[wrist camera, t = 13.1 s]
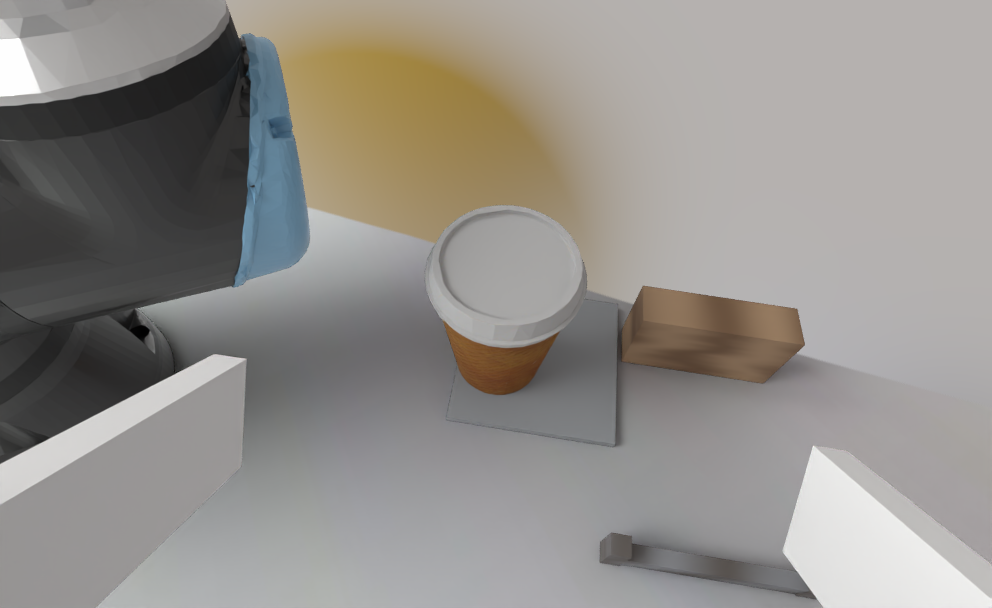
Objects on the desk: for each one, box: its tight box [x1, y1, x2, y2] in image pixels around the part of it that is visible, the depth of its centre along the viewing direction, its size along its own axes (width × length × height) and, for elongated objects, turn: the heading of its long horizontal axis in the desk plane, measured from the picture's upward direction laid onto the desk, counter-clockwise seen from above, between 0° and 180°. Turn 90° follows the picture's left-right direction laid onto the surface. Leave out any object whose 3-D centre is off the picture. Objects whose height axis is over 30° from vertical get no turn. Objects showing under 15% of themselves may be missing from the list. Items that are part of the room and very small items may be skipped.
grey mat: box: [446, 299, 618, 447], centre depth 41 cm, size 12×12×1 cm
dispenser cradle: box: [600, 286, 817, 599], centre depth 35 cm, size 13×18×6 cm
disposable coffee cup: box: [425, 205, 587, 395], centre depth 35 cm, size 10×10×12 cm
